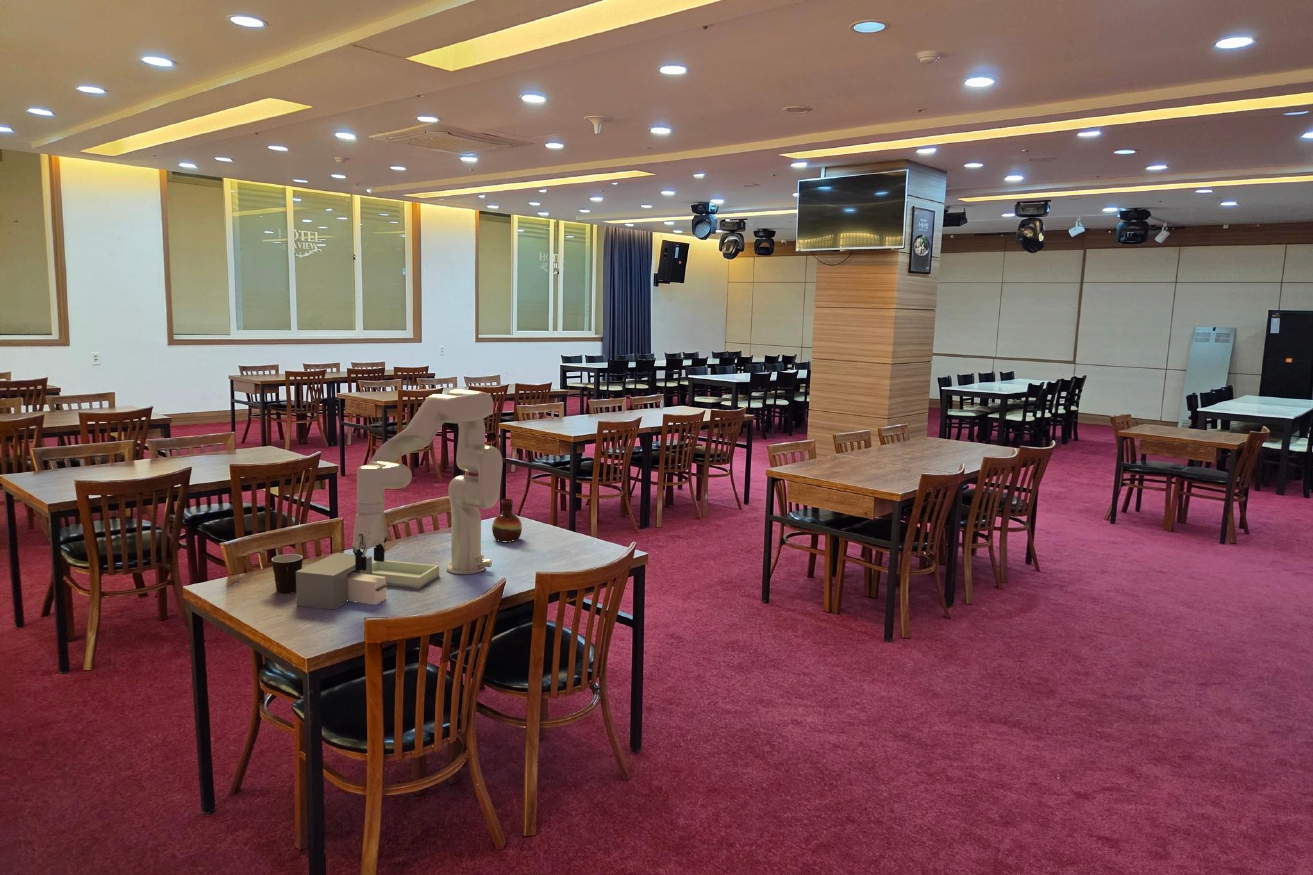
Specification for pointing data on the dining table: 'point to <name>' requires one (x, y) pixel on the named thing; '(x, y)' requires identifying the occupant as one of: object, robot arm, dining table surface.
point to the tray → (405, 573)
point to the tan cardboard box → (366, 588)
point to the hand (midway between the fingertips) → (370, 565)
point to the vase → (507, 523)
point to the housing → (327, 581)
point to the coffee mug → (286, 572)
